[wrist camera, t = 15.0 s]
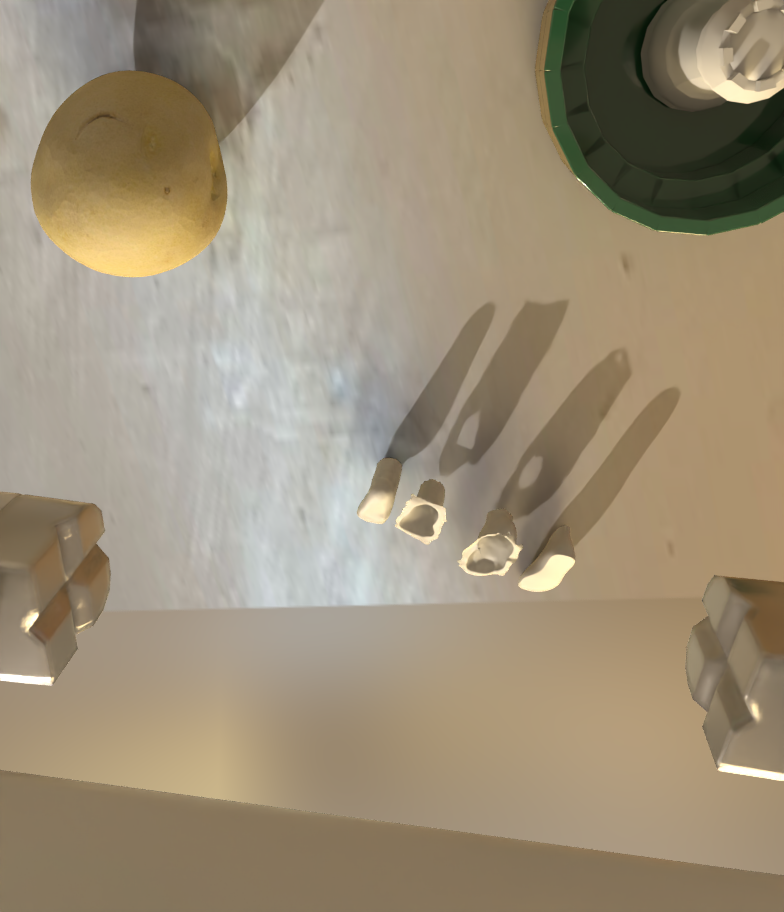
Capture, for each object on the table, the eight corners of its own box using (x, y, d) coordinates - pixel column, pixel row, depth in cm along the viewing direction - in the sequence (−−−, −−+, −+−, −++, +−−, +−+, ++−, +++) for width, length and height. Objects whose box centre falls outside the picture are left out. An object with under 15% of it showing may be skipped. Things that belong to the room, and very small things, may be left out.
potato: (277, 221, 35) (227, 262, 28) (132, 271, 36) (50, 321, 29) (209, 45, 31) (133, 41, 24) (53, 110, 33) (-59, 123, 26)
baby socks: (372, 485, 37) (384, 444, 38) (346, 531, 41) (358, 493, 43) (589, 566, 38) (593, 523, 40) (541, 602, 43) (546, 562, 44)
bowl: (563, -146, 27) (581, -186, 23) (904, -126, 27) (989, -162, 22) (515, 198, 33) (521, 219, 29) (794, 222, 32) (844, 248, 28)
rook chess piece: (686, 135, 31) (749, 157, 24) (614, 54, 30) (658, 52, 23) (780, 43, 29) (879, 37, 22) (707, -47, 28) (786, -83, 21)
